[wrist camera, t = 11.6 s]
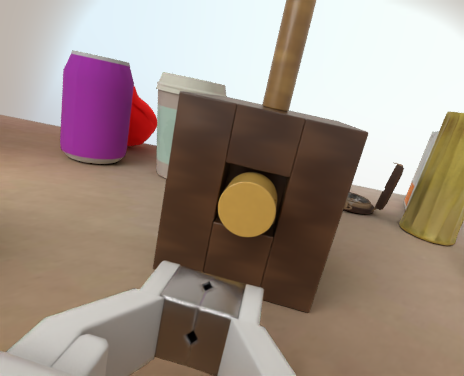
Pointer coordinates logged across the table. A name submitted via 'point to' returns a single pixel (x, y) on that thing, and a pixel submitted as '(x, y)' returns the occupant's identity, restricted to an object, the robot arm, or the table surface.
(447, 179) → the vase
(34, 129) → the table surface
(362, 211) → the compass
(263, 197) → the switch
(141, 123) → the flower
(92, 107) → the beverage can
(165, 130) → the coffee cup
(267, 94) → the lamp
